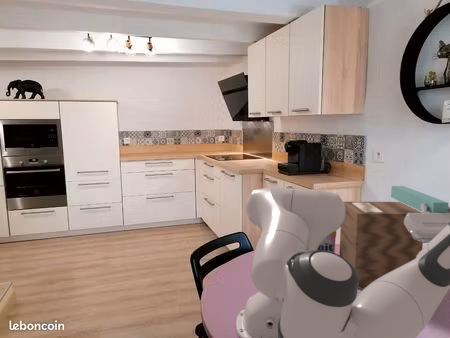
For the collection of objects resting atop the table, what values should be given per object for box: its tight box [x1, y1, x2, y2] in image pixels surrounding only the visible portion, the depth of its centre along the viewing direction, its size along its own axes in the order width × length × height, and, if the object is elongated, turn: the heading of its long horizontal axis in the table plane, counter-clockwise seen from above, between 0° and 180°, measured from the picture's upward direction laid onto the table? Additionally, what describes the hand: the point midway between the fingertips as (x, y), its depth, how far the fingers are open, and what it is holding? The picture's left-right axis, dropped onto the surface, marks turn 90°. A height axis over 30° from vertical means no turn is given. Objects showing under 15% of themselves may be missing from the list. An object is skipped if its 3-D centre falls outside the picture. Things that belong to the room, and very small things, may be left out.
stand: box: [339, 201, 424, 288], centre depth 124 cm, size 22×18×26 cm
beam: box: [390, 185, 449, 213], centre depth 107 cm, size 4×26×4 cm, turn 178°
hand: (432, 205), depth 98 cm, fingers closed on beam, 4 cm apart
